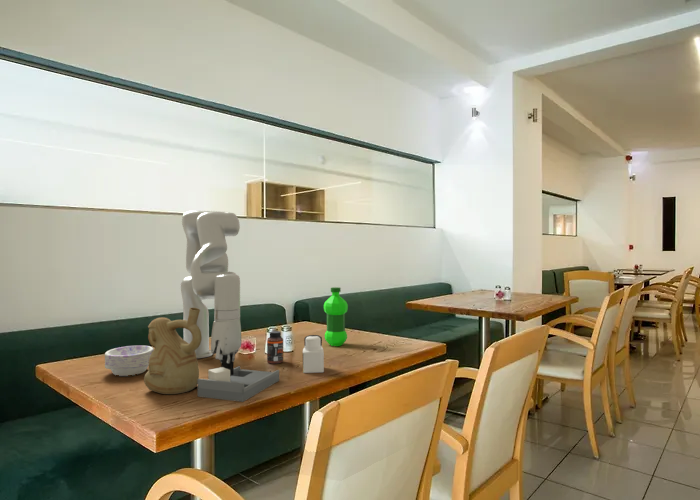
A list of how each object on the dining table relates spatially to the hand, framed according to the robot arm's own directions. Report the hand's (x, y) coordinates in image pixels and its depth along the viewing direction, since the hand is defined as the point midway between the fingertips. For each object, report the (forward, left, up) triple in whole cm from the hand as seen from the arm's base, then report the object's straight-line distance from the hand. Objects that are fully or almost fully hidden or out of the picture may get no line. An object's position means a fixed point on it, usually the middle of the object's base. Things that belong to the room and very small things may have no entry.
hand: (227, 375), depth 140 cm
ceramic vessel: (-15, -5, -4) cm, 17 cm away
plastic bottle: (+9, +68, -4) cm, 69 cm away
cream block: (+1, -5, -2) cm, 5 cm away
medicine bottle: (+16, +27, -4) cm, 32 cm away
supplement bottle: (-2, +33, -4) cm, 34 cm away
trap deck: (+3, +2, -4) cm, 6 cm away
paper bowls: (-43, +5, -4) cm, 43 cm away
